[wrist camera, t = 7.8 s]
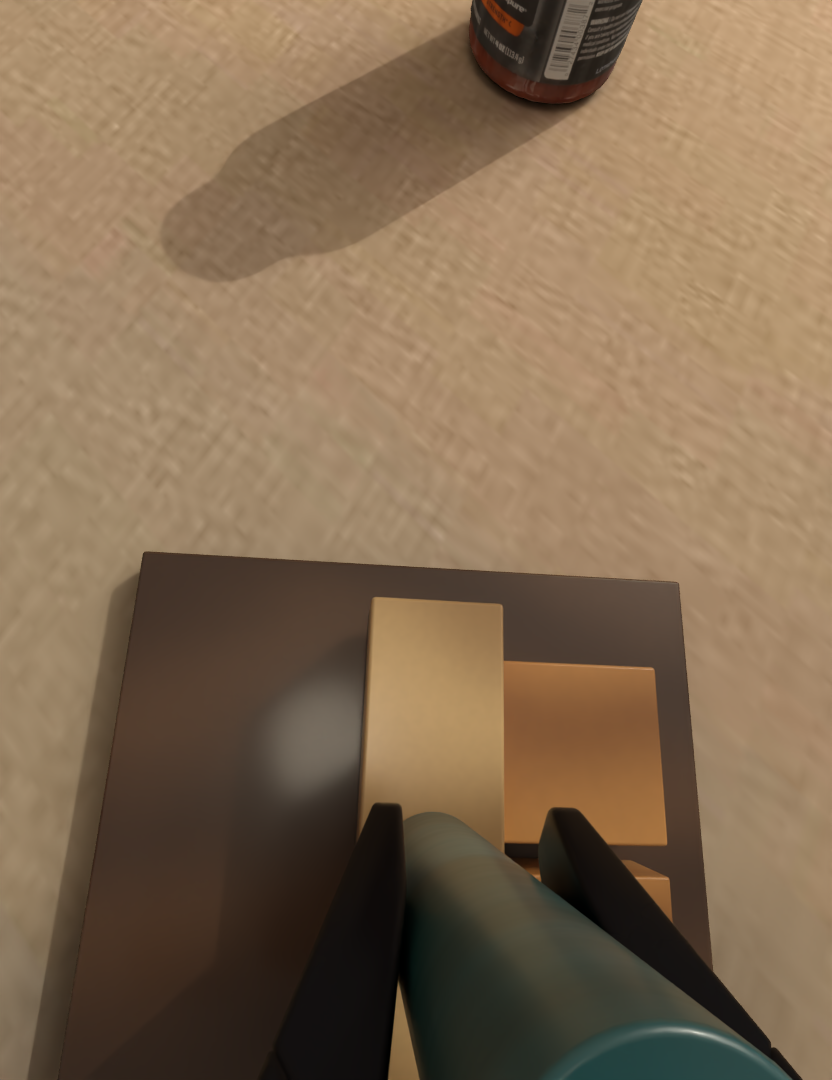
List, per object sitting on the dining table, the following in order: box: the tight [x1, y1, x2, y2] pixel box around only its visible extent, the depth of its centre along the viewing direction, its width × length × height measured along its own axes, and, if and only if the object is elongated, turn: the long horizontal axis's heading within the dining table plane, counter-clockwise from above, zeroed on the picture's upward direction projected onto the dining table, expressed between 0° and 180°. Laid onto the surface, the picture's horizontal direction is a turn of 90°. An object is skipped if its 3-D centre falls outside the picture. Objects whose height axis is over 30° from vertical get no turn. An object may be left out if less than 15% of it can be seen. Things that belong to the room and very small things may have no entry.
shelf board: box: [58, 552, 713, 1080], centre depth 16 cm, size 14×15×1 cm
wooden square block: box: [503, 661, 667, 846], centre depth 16 cm, size 4×4×2 cm
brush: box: [355, 597, 793, 1080], centre depth 9 cm, size 11×3×12 cm, turn 178°
